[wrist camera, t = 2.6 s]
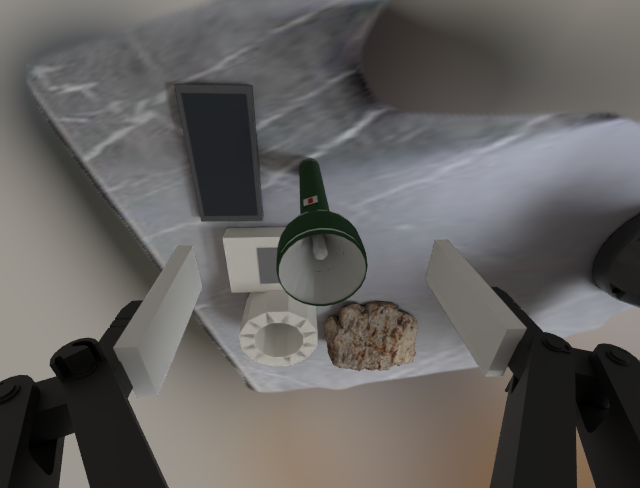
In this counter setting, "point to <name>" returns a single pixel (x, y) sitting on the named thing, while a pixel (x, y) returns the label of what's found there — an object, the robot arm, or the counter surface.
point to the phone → (222, 150)
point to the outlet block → (267, 300)
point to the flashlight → (319, 248)
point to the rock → (371, 337)
